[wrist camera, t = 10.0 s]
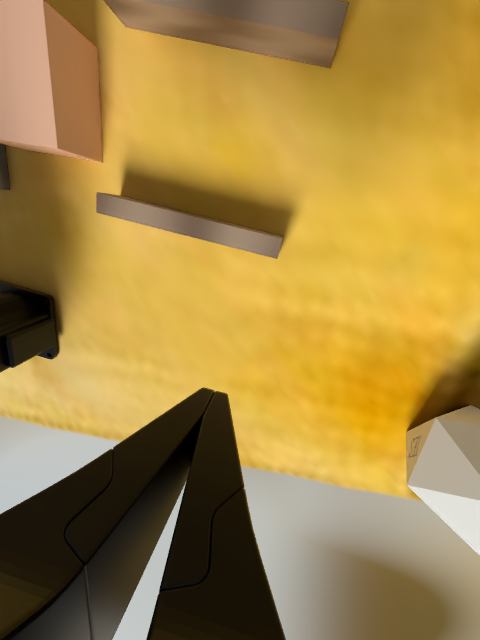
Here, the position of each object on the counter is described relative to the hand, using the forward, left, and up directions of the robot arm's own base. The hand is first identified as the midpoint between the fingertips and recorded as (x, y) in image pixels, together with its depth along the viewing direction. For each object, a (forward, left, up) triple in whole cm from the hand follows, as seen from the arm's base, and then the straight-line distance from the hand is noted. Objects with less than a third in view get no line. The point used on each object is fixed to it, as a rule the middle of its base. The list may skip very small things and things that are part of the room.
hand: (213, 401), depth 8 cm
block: (-16, +9, -12) cm, 22 cm away
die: (+18, -7, -12) cm, 23 cm away
